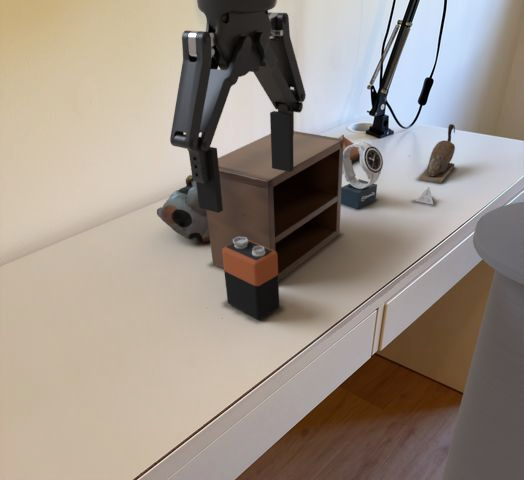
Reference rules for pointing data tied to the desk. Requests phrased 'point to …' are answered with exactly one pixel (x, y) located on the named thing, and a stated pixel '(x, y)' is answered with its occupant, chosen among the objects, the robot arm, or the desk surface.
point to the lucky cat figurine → (186, 213)
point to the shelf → (280, 199)
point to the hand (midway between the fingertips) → (249, 188)
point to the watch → (359, 190)
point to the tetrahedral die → (426, 197)
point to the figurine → (440, 160)
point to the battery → (251, 277)
